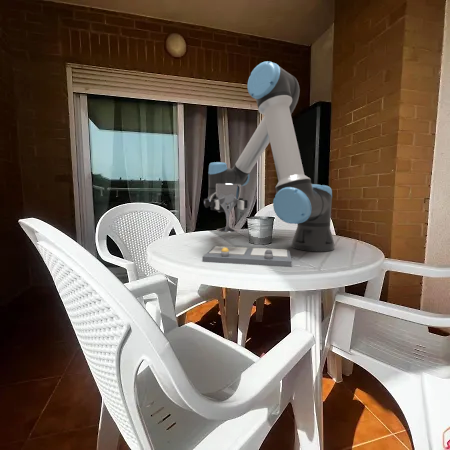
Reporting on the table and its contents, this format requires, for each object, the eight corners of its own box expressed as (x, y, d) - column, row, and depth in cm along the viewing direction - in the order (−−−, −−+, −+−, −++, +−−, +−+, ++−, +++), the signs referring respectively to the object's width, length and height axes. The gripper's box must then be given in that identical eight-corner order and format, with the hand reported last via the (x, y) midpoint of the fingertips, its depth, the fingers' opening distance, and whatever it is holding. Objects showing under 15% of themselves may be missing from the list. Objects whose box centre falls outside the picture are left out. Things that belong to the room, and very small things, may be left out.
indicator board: (289, 254, 90) (289, 242, 90) (291, 266, 76) (291, 252, 75) (214, 250, 95) (214, 239, 95) (202, 261, 81) (202, 248, 80)
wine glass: (214, 232, 84) (214, 183, 82) (216, 228, 92) (216, 183, 90) (239, 232, 84) (240, 183, 82) (239, 228, 92) (240, 184, 90)
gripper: (245, 211, 106) (261, 217, 84) (194, 211, 103) (197, 217, 81) (245, 192, 105) (262, 193, 83) (194, 191, 102) (197, 192, 80)
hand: (230, 205), depth 82 cm, fingers closed on wine glass, 7 cm apart
